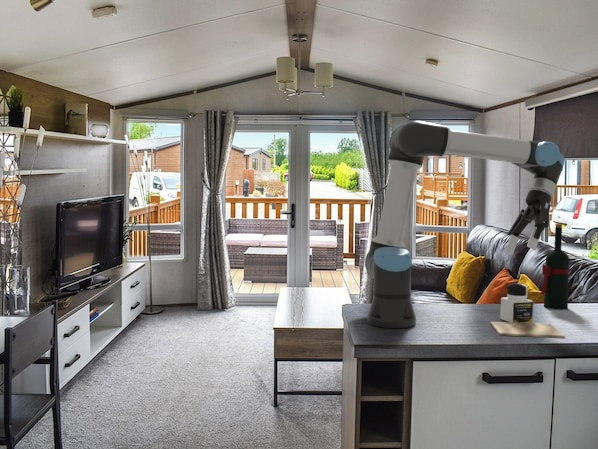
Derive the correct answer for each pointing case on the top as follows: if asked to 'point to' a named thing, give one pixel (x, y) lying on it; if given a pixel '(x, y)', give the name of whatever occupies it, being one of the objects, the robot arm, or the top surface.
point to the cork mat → (526, 329)
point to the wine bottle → (556, 275)
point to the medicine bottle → (516, 305)
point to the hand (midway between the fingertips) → (519, 250)
